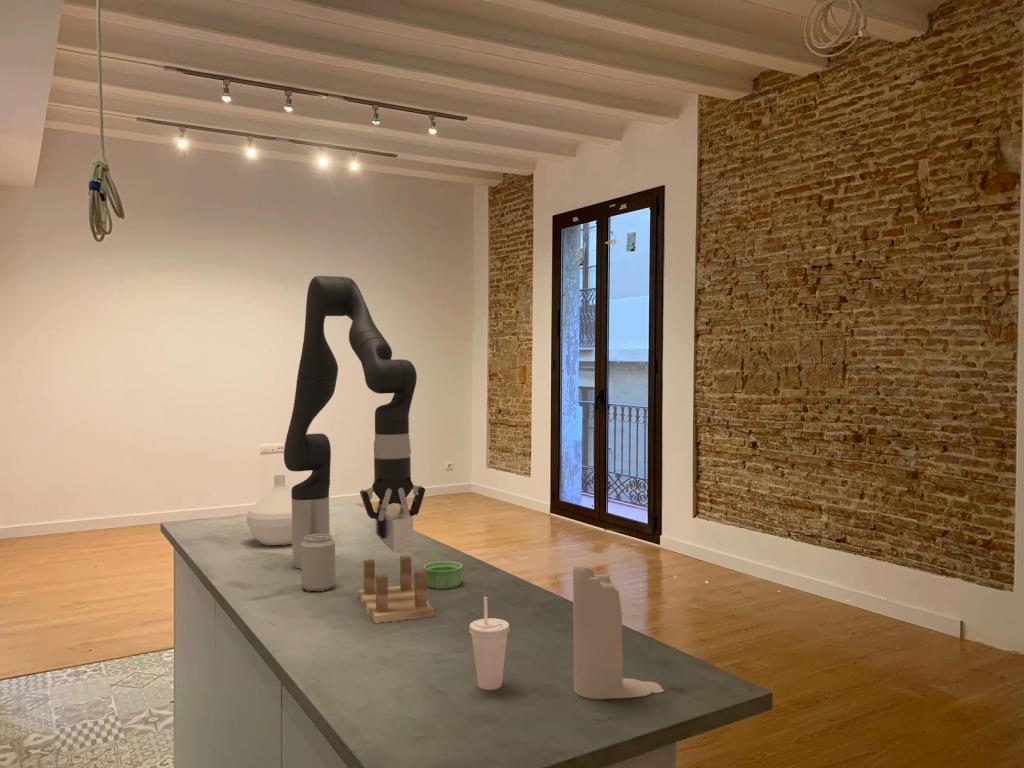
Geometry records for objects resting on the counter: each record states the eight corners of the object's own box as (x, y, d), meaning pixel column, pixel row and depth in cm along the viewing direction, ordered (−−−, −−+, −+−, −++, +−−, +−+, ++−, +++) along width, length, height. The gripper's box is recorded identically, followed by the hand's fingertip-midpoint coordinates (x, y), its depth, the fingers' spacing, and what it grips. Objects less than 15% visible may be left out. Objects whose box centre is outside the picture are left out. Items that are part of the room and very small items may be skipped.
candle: (668, 696, 121) (667, 566, 120) (578, 700, 120) (577, 568, 119) (656, 678, 128) (655, 554, 127) (570, 681, 127) (569, 557, 126)
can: (327, 593, 177) (326, 540, 176) (296, 592, 178) (295, 538, 178) (341, 584, 184) (340, 532, 184) (310, 582, 185) (310, 531, 185)
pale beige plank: (375, 534, 174) (375, 504, 174) (393, 532, 176) (393, 503, 176) (393, 552, 158) (393, 519, 157) (413, 550, 159) (412, 518, 159)
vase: (327, 539, 231) (326, 473, 230) (277, 552, 215) (276, 482, 215) (283, 532, 241) (282, 469, 240) (233, 544, 225) (231, 477, 225)
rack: (357, 597, 174) (357, 558, 173) (411, 590, 178) (411, 553, 178) (375, 623, 156) (374, 580, 156) (434, 616, 160) (433, 574, 160)
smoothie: (469, 677, 129) (468, 592, 128) (508, 676, 129) (507, 590, 129) (470, 694, 122) (469, 604, 122) (512, 692, 123) (511, 602, 123)
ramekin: (470, 584, 183) (470, 565, 183) (441, 592, 177) (441, 573, 177) (444, 577, 190) (444, 559, 189) (415, 585, 183) (415, 566, 183)
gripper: (421, 451, 172) (422, 530, 173) (355, 454, 167) (356, 536, 168) (430, 455, 165) (431, 537, 166) (361, 458, 160) (362, 543, 161)
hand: (393, 536), depth 167 cm, fingers closed on pale beige plank, 4 cm apart
